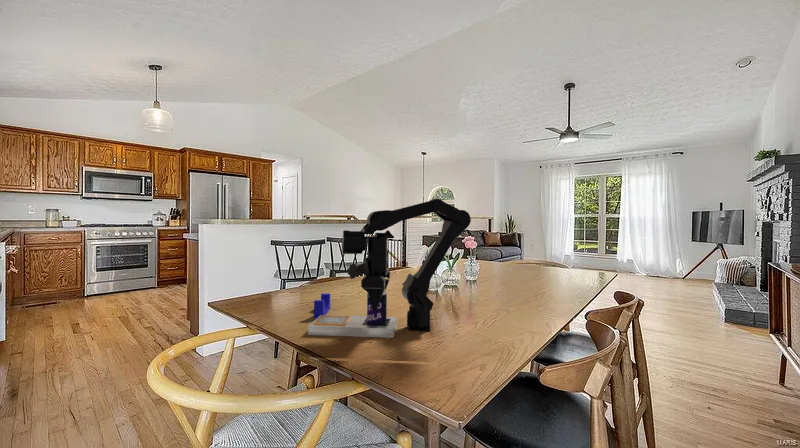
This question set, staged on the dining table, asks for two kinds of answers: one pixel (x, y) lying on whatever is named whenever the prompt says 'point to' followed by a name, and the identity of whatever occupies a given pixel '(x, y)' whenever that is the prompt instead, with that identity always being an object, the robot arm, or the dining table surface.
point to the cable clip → (322, 305)
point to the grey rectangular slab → (351, 326)
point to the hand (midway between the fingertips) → (376, 307)
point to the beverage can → (377, 312)
